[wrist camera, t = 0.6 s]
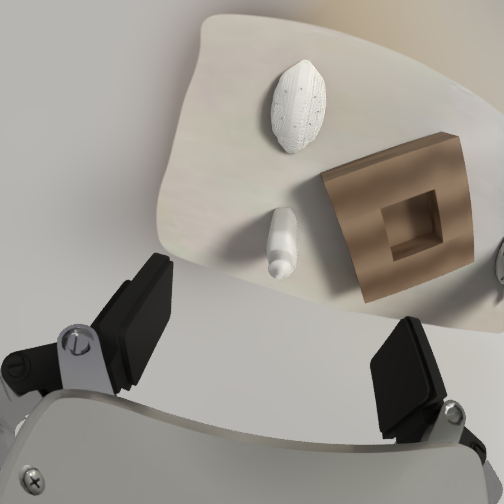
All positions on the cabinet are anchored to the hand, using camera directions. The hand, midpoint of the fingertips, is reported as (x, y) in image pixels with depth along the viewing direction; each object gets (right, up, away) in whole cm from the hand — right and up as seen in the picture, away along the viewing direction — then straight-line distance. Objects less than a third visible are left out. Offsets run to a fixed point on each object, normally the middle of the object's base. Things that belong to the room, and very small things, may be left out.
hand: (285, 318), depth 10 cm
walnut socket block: (+19, +8, +23) cm, 31 cm away
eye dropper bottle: (+3, +6, +27) cm, 28 cm away
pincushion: (+4, +20, +19) cm, 28 cm away
